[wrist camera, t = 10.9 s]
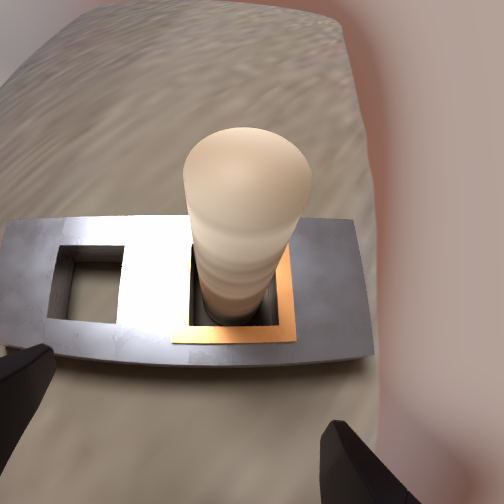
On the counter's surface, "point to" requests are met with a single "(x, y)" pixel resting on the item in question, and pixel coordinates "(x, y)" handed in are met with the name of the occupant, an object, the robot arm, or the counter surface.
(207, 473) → the counter surface
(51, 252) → the silver slotted plate
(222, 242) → the peg
